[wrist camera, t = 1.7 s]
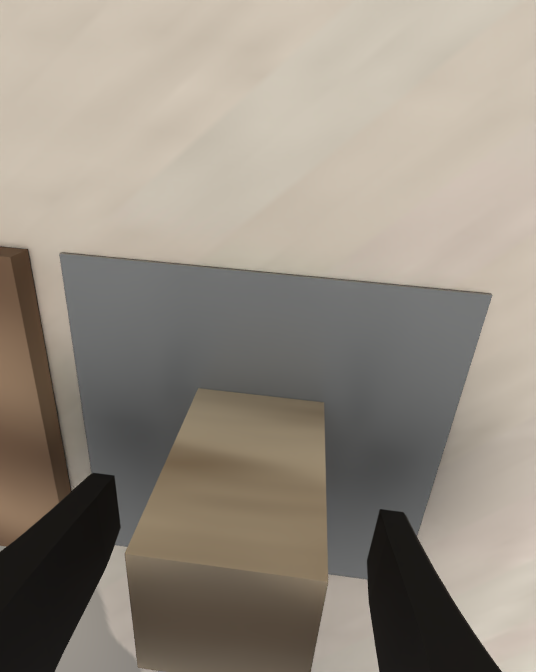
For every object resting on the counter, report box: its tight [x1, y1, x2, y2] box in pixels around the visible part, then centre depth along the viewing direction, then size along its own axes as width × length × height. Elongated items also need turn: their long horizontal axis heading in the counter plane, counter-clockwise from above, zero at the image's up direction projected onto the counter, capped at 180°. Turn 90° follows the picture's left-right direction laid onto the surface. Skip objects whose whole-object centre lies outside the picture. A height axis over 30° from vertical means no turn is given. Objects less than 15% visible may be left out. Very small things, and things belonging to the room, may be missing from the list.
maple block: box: [125, 388, 328, 672], centre depth 12 cm, size 4×4×6 cm
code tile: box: [59, 253, 492, 579], centre depth 15 cm, size 12×12×1 cm
